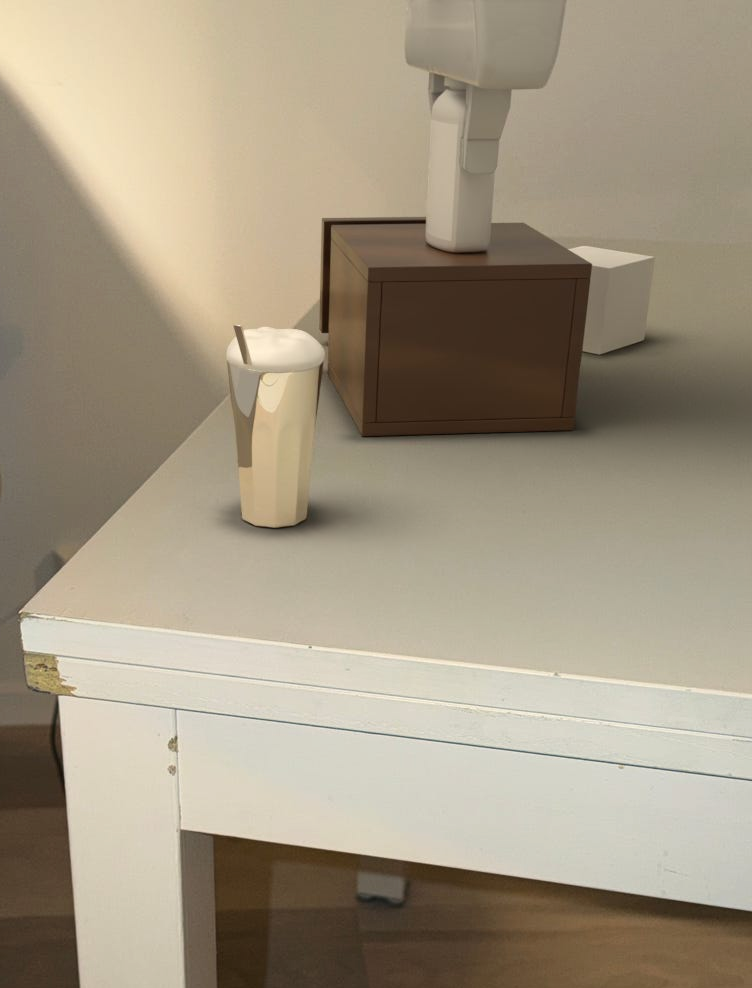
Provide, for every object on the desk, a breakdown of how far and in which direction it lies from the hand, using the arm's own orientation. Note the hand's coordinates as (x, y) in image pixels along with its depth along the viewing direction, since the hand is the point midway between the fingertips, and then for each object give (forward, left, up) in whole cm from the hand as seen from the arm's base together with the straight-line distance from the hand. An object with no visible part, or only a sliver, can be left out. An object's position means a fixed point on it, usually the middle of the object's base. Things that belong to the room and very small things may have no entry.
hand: (462, 164), depth 75 cm
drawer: (0, -12, -13) cm, 18 cm away
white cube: (-14, -15, -14) cm, 25 cm away
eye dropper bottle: (0, 0, -5) cm, 5 cm away
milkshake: (+13, +18, -14) cm, 26 cm away
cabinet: (0, -1, -14) cm, 14 cm away
